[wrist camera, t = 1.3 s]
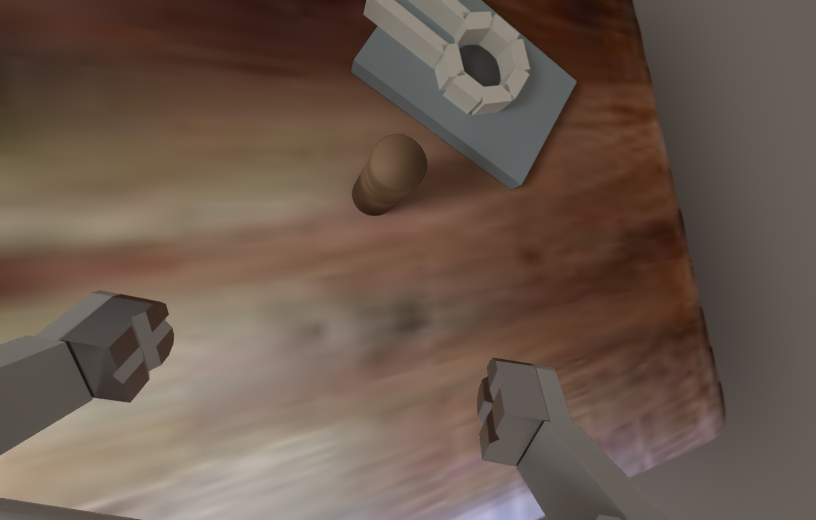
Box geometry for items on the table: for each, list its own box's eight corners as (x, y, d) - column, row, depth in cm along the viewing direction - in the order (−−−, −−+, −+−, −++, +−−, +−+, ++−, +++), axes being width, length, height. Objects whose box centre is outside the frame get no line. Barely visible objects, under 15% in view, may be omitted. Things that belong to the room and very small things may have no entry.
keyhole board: (336, 61, 36) (341, 30, 31) (408, -40, 39) (422, -81, 34) (510, 189, 40) (536, 178, 36) (564, 90, 43) (594, 68, 39)
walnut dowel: (344, 200, 35) (361, 168, 26) (366, 166, 36) (390, 122, 26) (380, 223, 36) (409, 201, 26) (400, 189, 37) (436, 156, 27)
